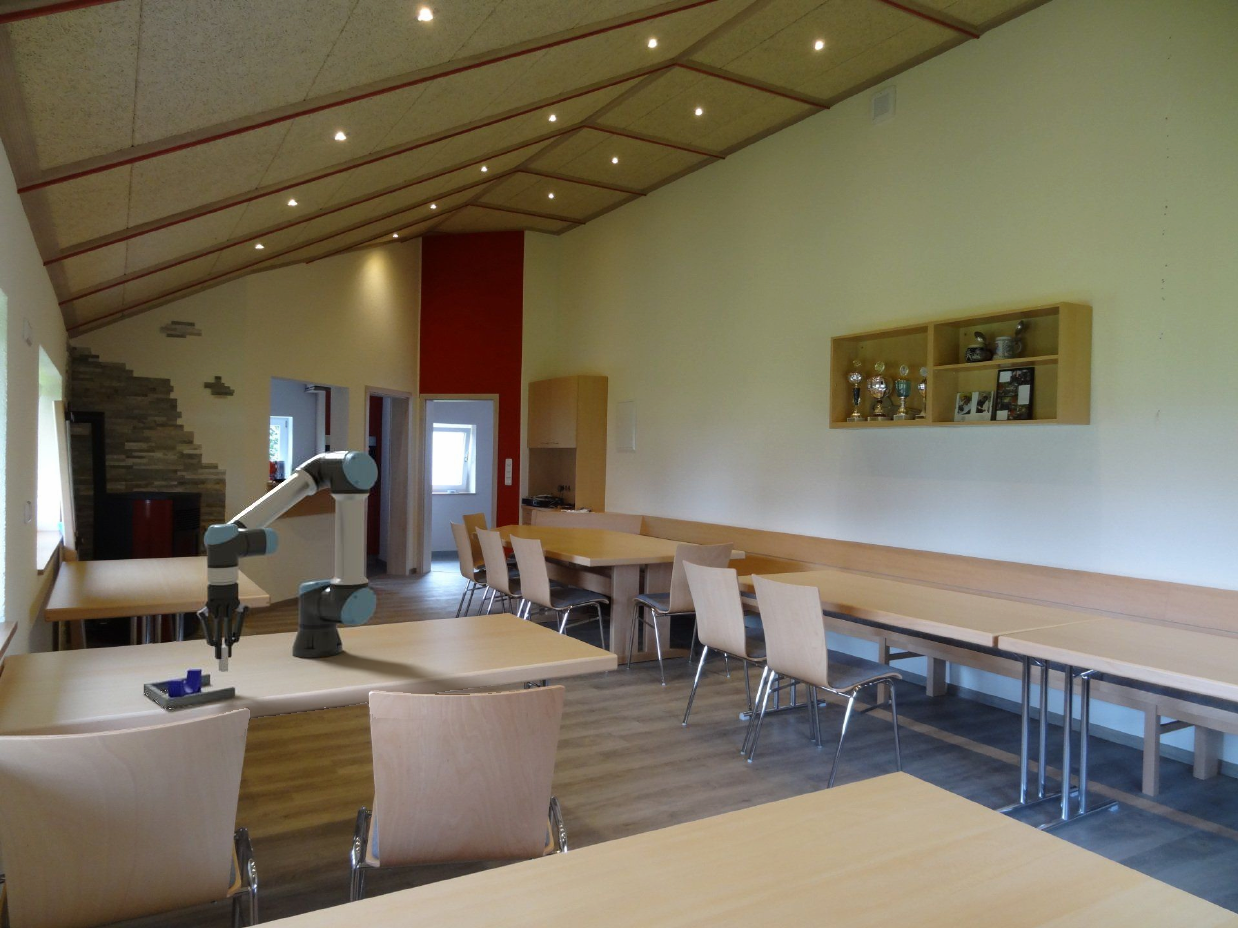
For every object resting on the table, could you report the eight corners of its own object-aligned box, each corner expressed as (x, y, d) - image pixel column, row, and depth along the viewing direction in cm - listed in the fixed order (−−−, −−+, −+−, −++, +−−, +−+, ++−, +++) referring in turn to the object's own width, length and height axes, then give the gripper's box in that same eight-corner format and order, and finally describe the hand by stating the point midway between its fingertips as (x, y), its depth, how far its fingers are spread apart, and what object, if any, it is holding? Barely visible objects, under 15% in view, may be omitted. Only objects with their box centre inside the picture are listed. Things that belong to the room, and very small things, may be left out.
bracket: (208, 682, 225) (208, 673, 225) (234, 697, 211) (235, 687, 211) (143, 693, 214) (143, 684, 214) (166, 709, 200) (167, 699, 200)
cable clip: (183, 691, 217) (184, 669, 217) (201, 691, 217) (201, 669, 217) (161, 704, 205) (162, 680, 205) (180, 704, 205) (180, 680, 205)
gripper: (242, 578, 226) (243, 663, 226) (191, 583, 216) (192, 672, 217) (253, 581, 220) (253, 668, 221) (201, 586, 211) (202, 677, 211)
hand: (223, 670), depth 219 cm, fingers closed
